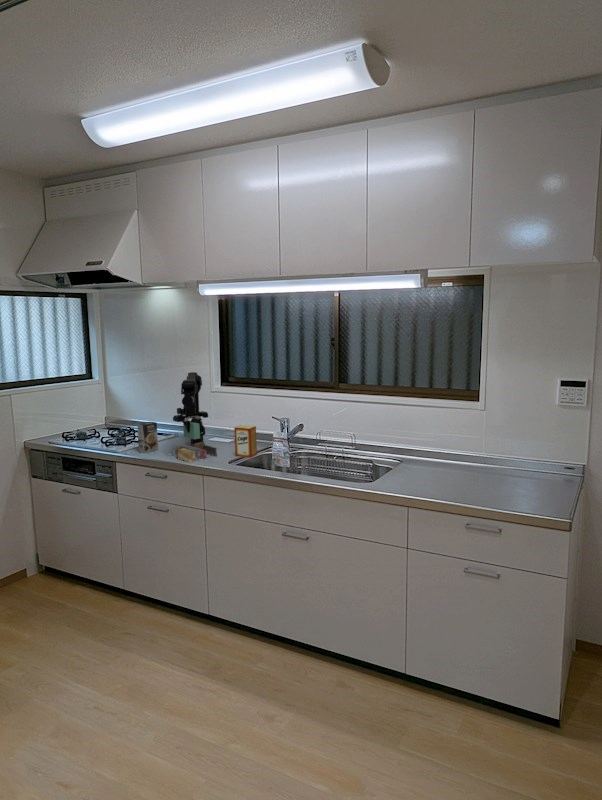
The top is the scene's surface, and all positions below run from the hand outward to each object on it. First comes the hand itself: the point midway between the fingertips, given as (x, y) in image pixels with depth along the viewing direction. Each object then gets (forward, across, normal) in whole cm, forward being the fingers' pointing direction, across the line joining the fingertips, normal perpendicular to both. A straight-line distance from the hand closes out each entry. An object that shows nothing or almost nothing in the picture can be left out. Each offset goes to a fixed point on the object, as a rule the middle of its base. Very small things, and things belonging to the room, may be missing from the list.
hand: (191, 432), depth 302 cm
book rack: (+13, +1, +6) cm, 14 cm away
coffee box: (+13, +12, -28) cm, 33 cm away
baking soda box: (+13, -20, +21) cm, 32 cm away
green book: (+3, 0, 0) cm, 3 cm away
